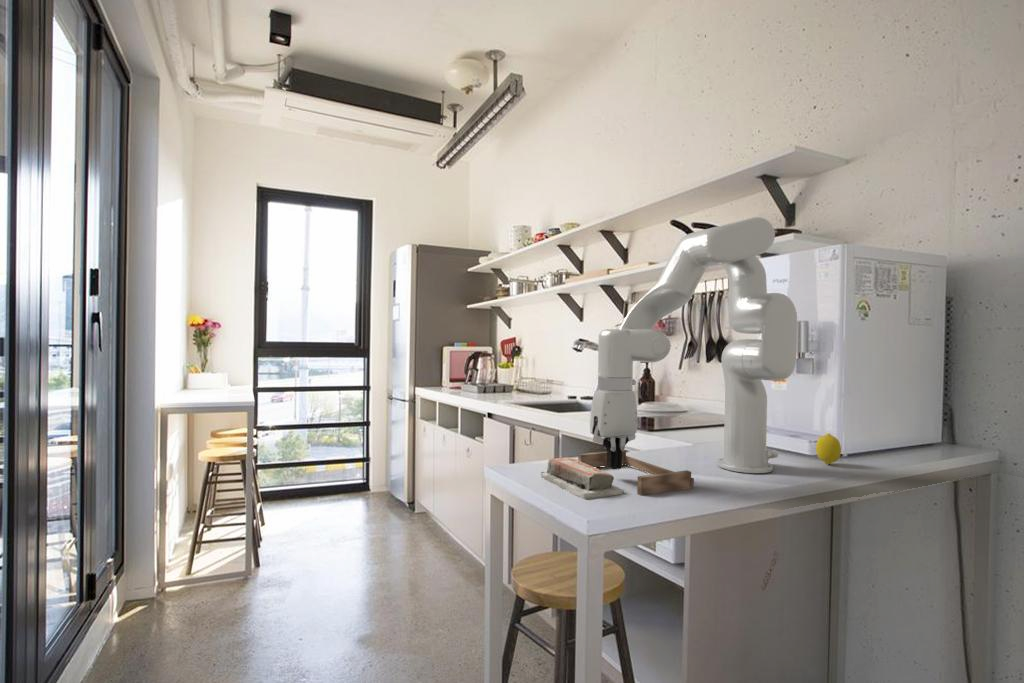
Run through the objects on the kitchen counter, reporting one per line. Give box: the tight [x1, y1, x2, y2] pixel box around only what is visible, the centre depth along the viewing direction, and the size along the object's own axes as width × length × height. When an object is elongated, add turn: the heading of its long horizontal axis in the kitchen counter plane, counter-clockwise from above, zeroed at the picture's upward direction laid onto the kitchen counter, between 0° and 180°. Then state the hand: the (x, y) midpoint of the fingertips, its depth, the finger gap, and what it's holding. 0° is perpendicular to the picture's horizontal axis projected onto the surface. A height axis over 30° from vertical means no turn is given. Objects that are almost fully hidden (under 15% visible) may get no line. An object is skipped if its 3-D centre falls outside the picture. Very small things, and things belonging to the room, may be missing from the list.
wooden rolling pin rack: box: [577, 449, 695, 496], centre depth 120 cm, size 14×23×4 cm, turn 26°
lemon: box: [815, 433, 842, 465], centre depth 136 cm, size 6×6×8 cm
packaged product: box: [540, 456, 625, 500], centre depth 114 cm, size 18×5×10 cm
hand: (614, 467), depth 118 cm, fingers closed
